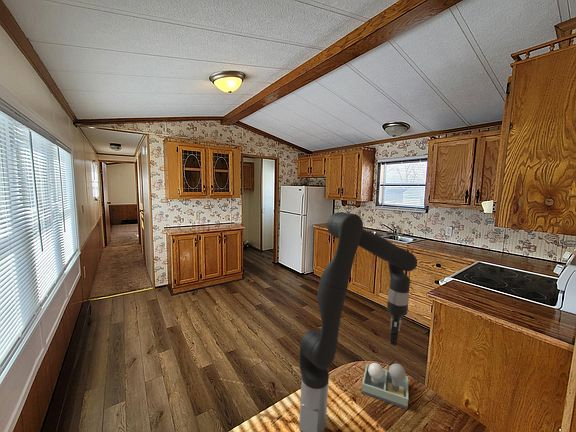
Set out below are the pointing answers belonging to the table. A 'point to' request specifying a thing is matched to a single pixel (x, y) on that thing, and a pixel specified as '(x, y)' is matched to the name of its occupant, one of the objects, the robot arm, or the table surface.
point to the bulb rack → (384, 386)
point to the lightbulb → (396, 375)
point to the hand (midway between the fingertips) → (393, 338)
